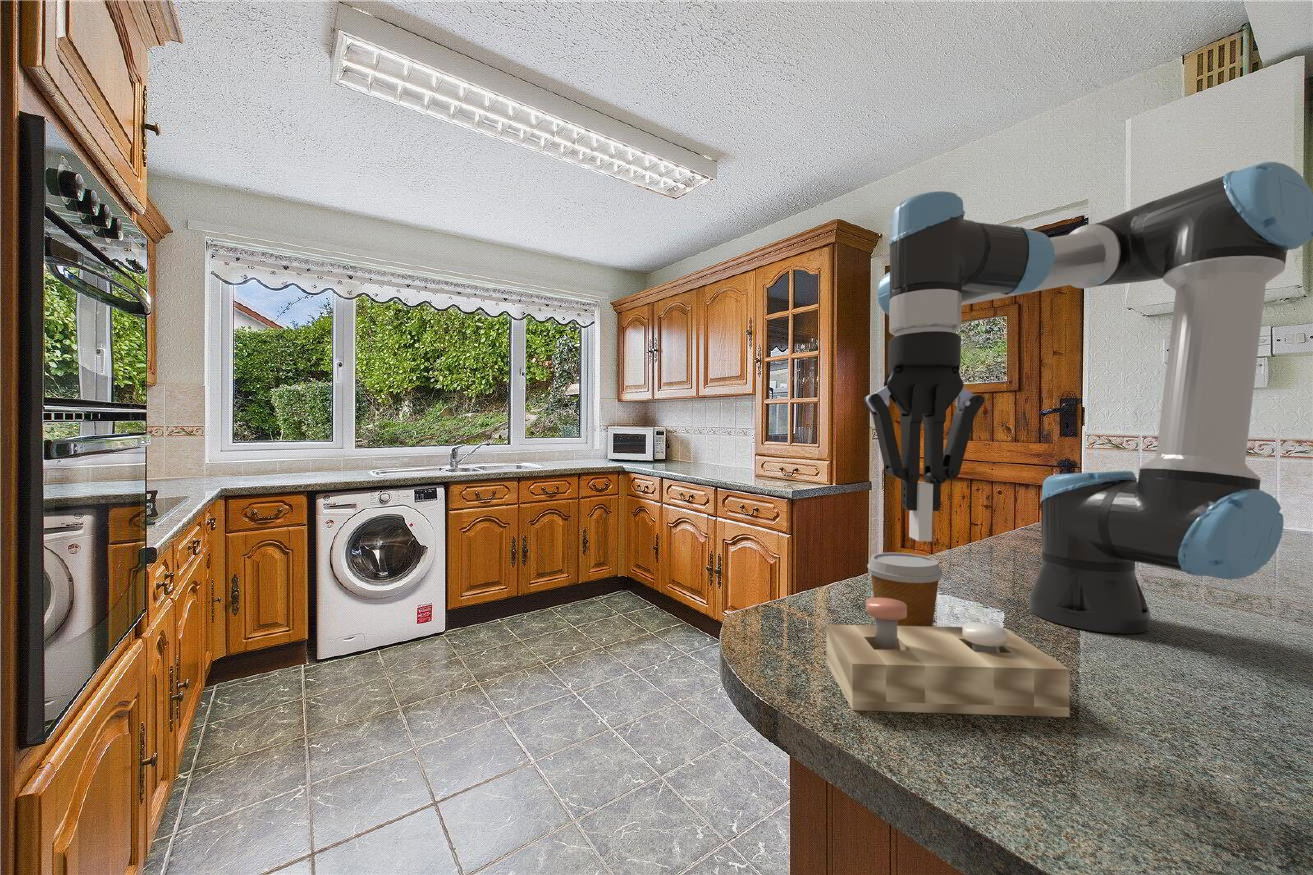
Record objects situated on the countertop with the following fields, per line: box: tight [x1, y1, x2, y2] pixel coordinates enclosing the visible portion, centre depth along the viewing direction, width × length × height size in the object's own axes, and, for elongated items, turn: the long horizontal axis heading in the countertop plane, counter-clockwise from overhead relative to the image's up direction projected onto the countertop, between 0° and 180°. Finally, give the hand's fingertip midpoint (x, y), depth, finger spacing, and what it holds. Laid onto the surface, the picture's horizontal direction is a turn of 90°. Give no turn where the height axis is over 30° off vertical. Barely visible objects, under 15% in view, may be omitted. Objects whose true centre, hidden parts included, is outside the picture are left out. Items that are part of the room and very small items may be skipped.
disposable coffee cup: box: [866, 552, 943, 627], centre depth 76 cm, size 10×10×12 cm
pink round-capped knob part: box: [865, 597, 907, 649], centre depth 64 cm, size 4×4×5 cm
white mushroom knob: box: [961, 621, 1007, 653], centre depth 63 cm, size 4×4×5 cm
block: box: [825, 623, 1070, 718], centre depth 64 cm, size 22×12×5 cm, turn 86°
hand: (920, 538), depth 63 cm, fingers closed
